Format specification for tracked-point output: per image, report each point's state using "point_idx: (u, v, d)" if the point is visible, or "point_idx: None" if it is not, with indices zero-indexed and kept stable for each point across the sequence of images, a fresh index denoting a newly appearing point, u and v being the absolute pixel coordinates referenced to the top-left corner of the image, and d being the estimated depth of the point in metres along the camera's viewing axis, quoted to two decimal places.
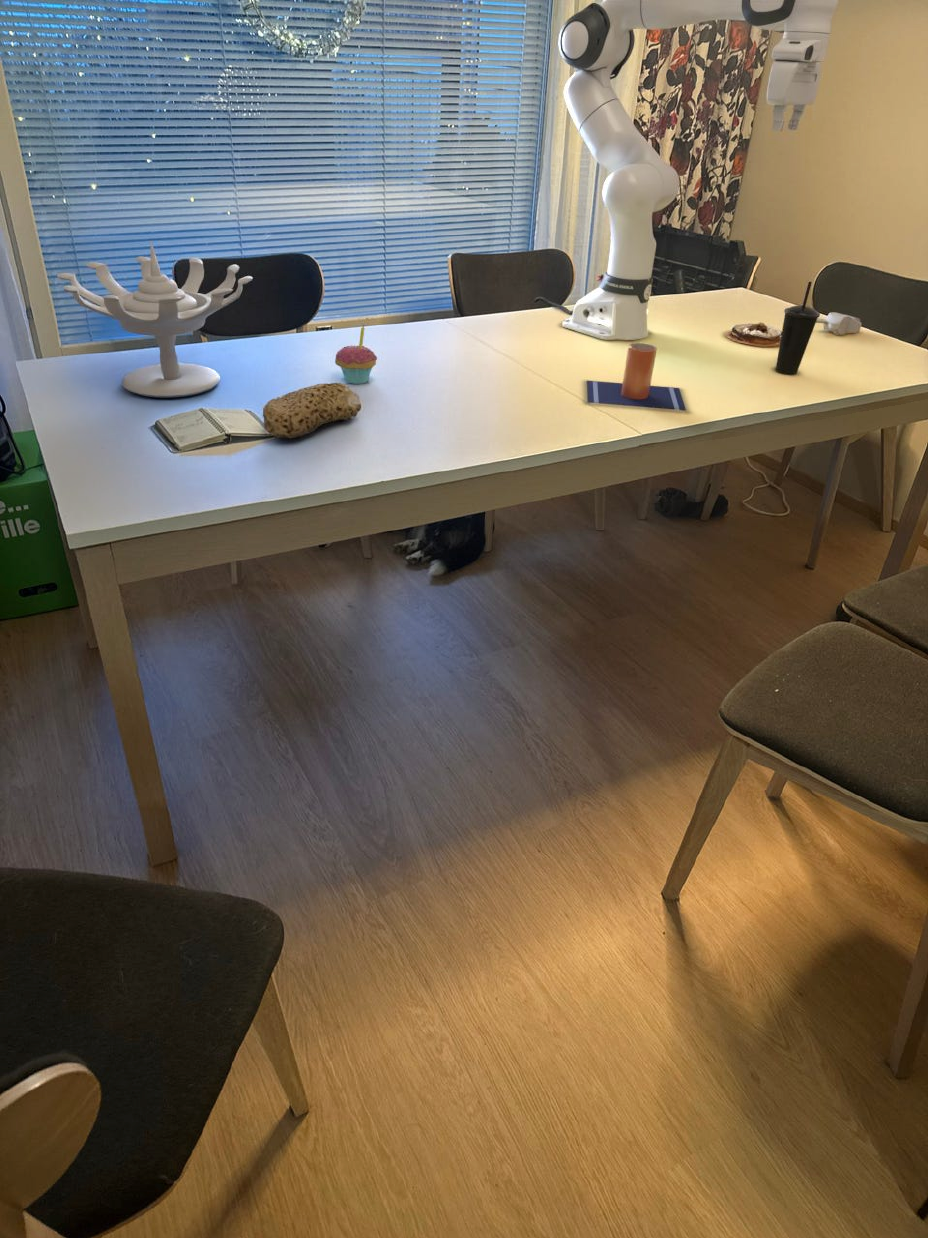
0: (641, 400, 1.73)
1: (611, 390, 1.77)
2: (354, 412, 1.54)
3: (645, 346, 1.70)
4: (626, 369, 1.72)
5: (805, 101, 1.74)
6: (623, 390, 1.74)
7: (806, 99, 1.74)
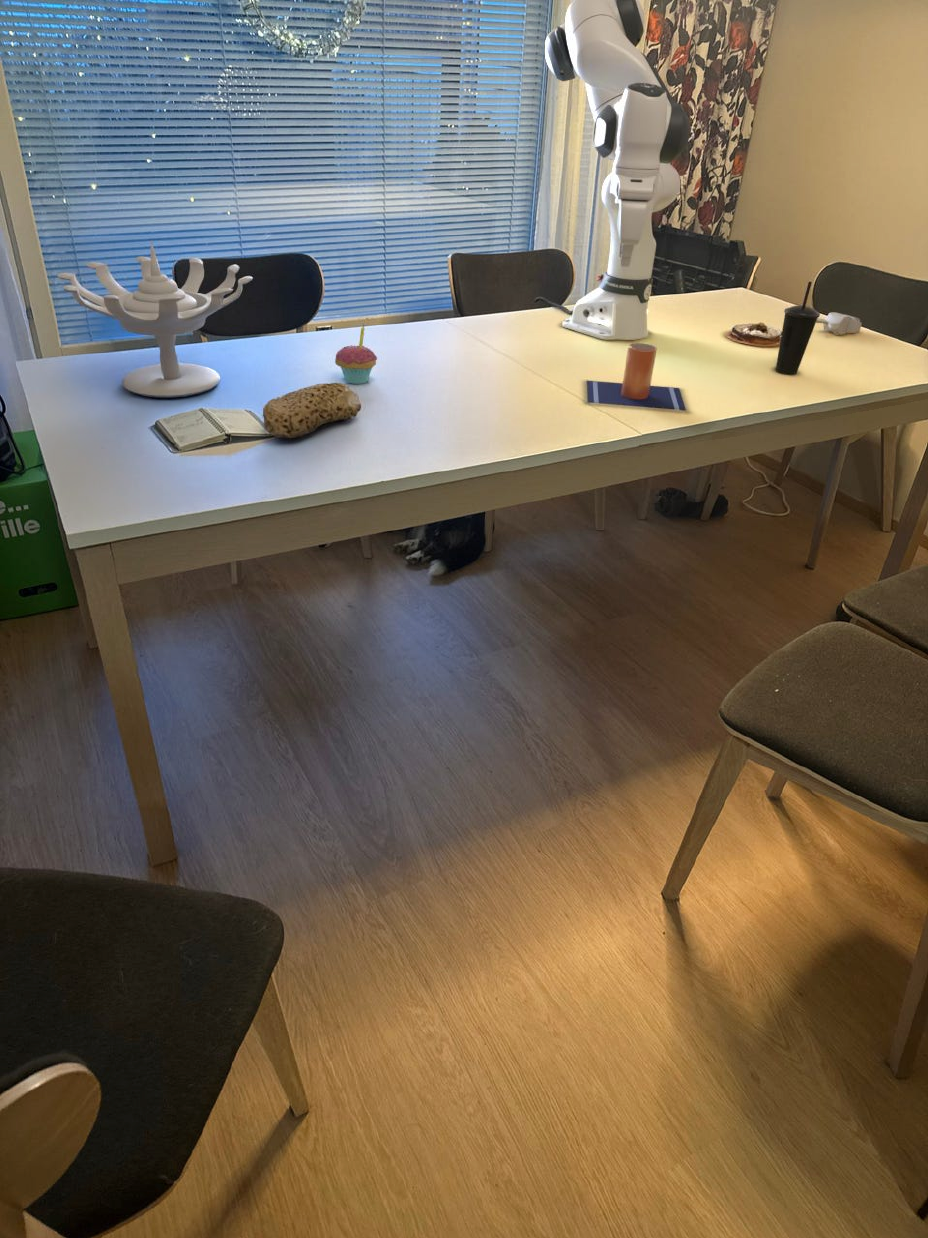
0: (641, 400, 1.73)
1: (611, 390, 1.77)
2: (354, 412, 1.54)
3: (645, 346, 1.70)
4: (626, 369, 1.72)
5: None
6: (623, 390, 1.74)
7: None
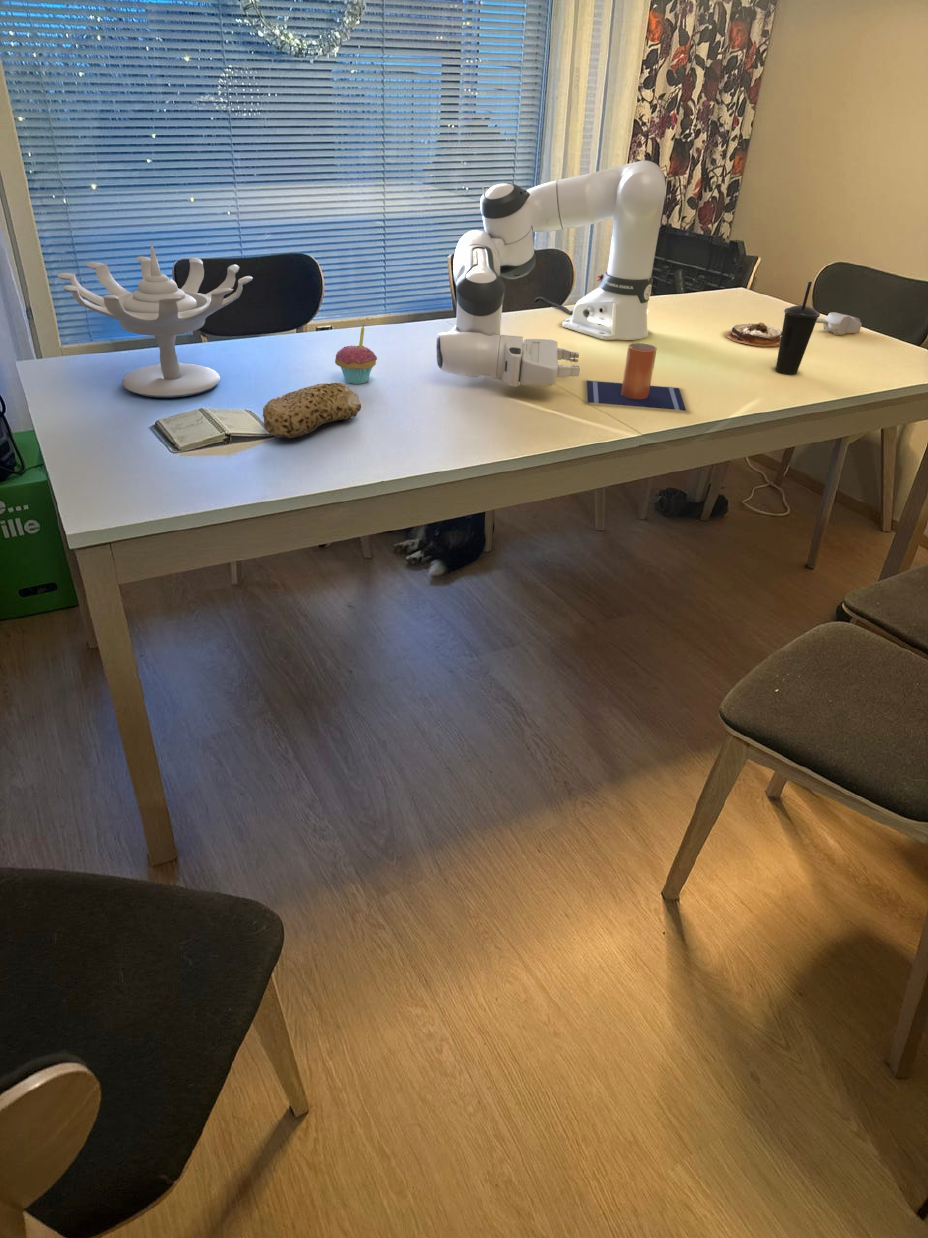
0: (641, 400, 1.73)
1: (611, 390, 1.77)
2: (354, 412, 1.54)
3: (645, 346, 1.70)
4: (626, 369, 1.72)
5: (555, 348, 1.75)
6: (623, 390, 1.74)
7: (553, 347, 1.76)
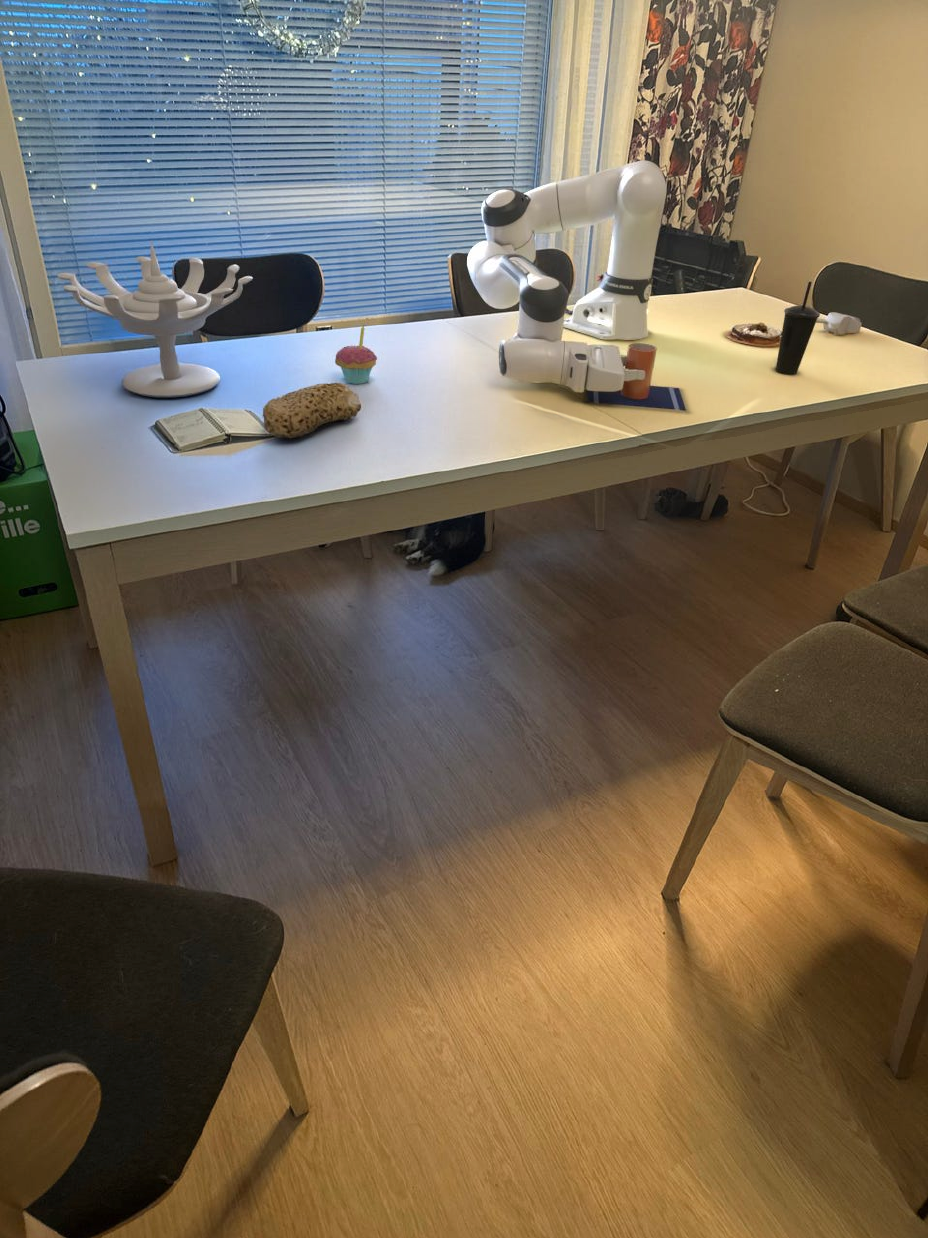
0: (641, 400, 1.73)
1: None
2: (354, 412, 1.54)
3: (645, 346, 1.70)
4: None
5: (618, 353, 1.75)
6: (623, 390, 1.74)
7: (616, 352, 1.75)
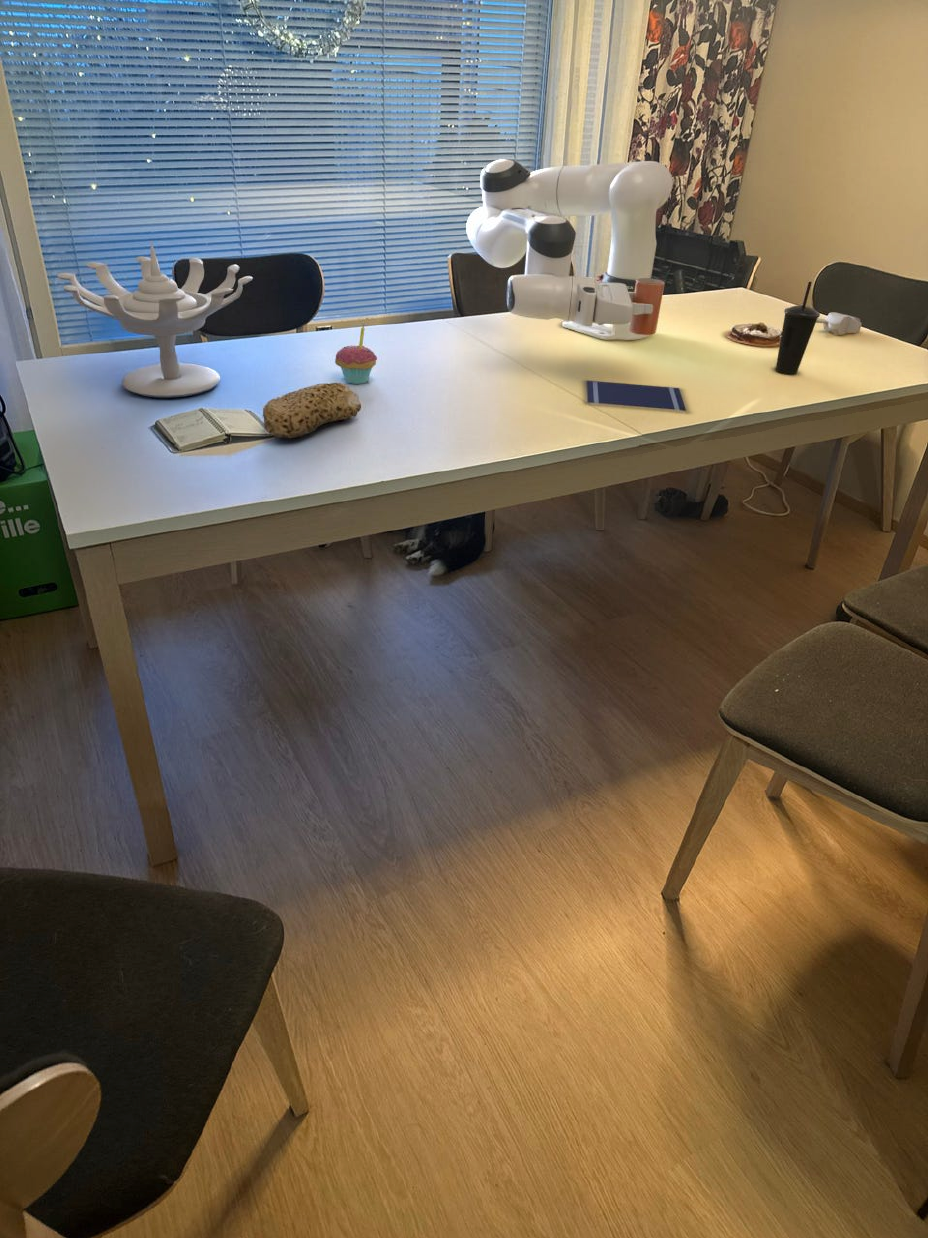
0: (641, 400, 1.73)
1: (611, 390, 1.77)
2: (354, 412, 1.54)
3: (653, 280, 1.71)
4: None
5: (625, 289, 1.75)
6: (631, 326, 1.75)
7: (624, 288, 1.75)
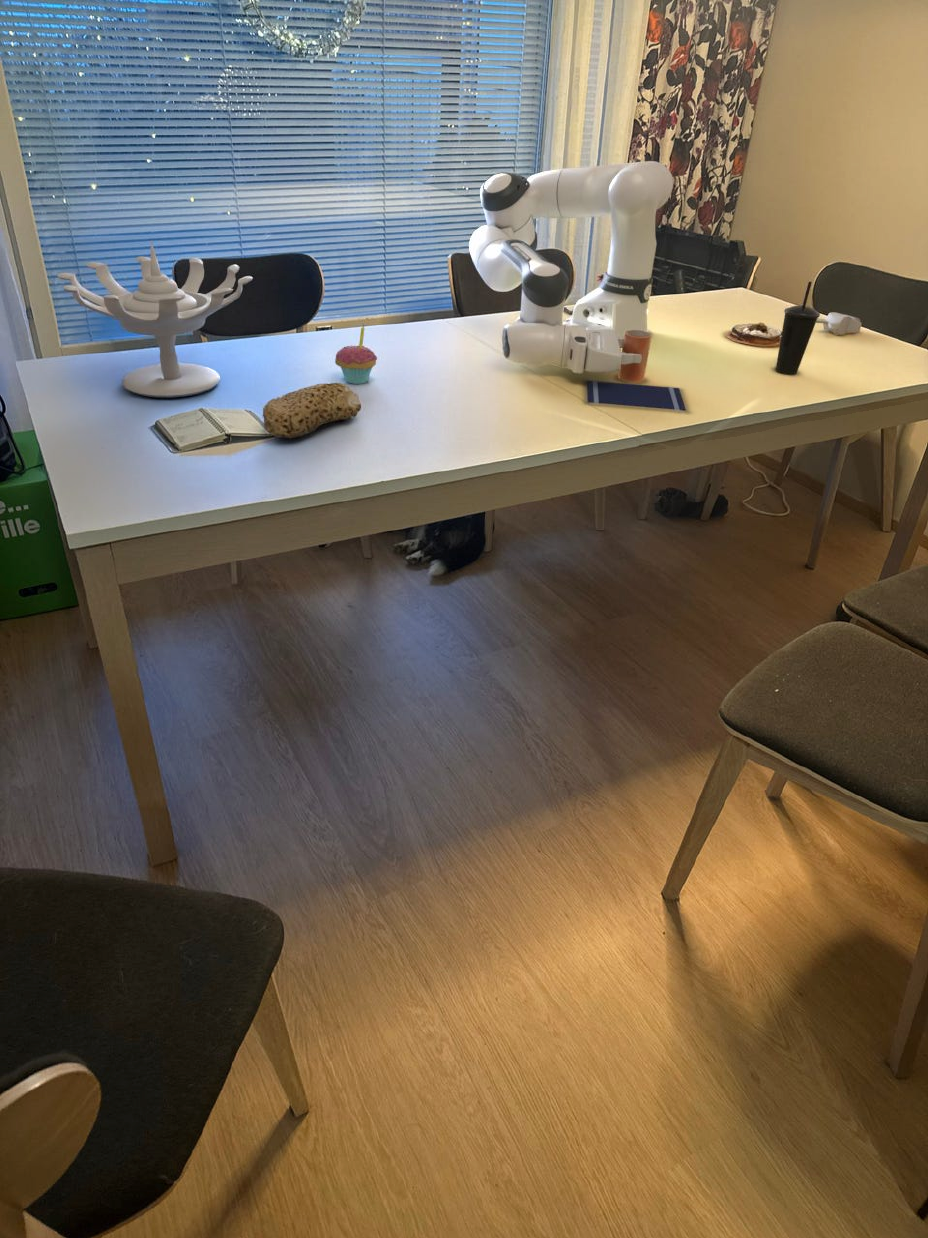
0: (641, 400, 1.73)
1: (611, 390, 1.77)
2: (354, 412, 1.54)
3: (641, 333, 1.80)
4: None
5: (615, 337, 1.84)
6: (620, 375, 1.84)
7: (614, 336, 1.84)
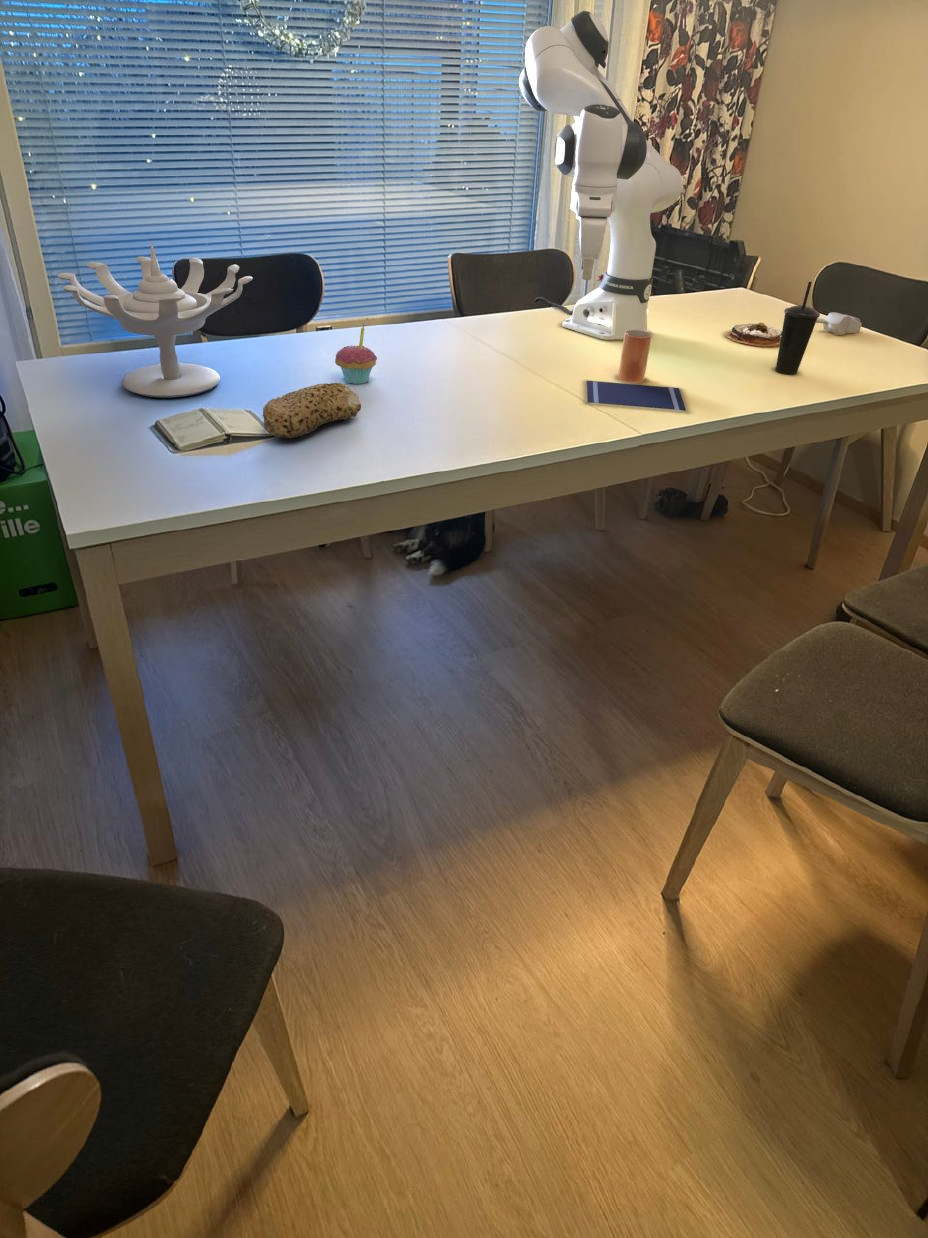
0: (641, 400, 1.73)
1: (611, 390, 1.77)
2: (354, 412, 1.54)
3: (641, 333, 1.80)
4: (623, 355, 1.81)
5: None
6: (620, 375, 1.84)
7: None
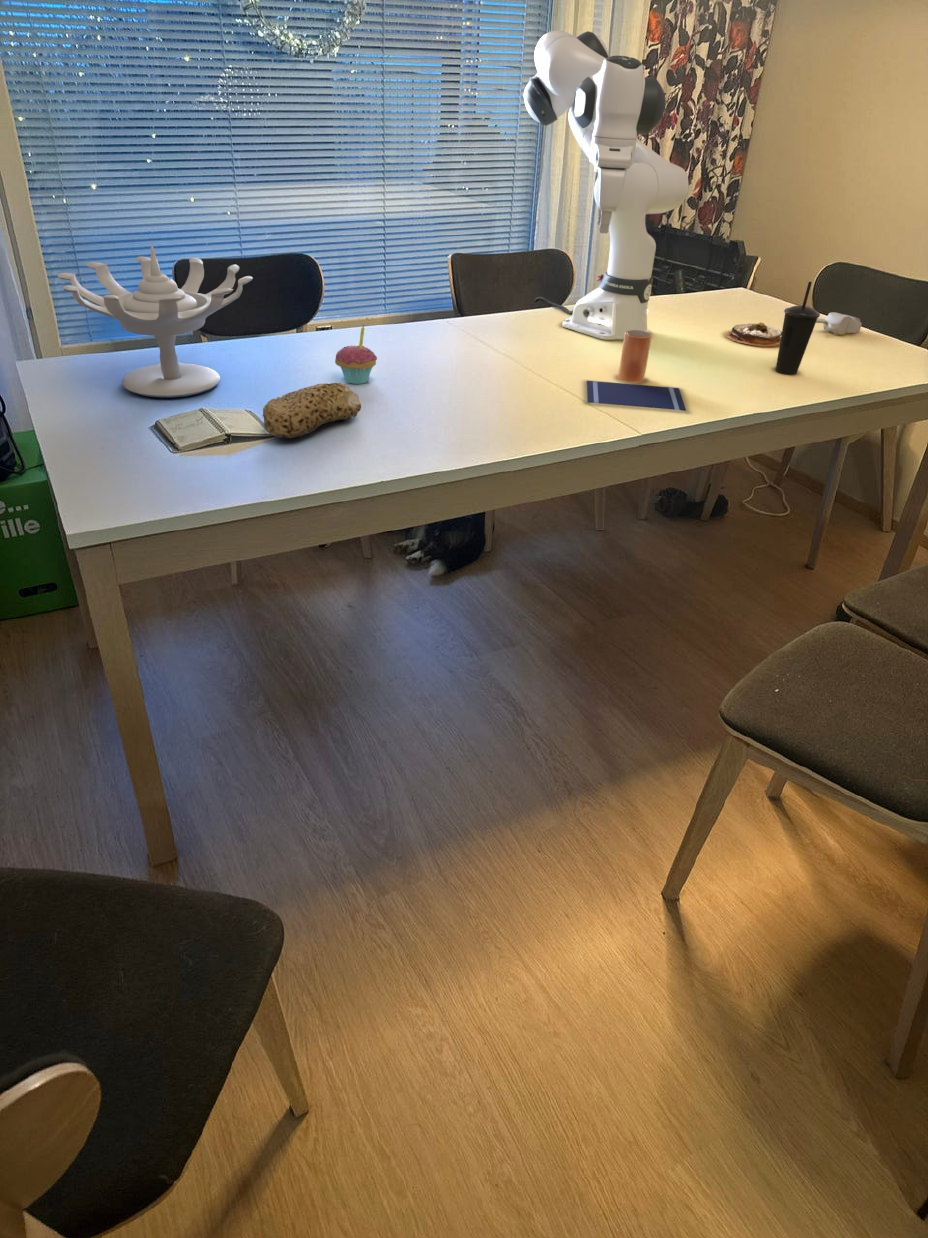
0: (641, 400, 1.73)
1: (611, 390, 1.77)
2: (354, 412, 1.54)
3: (641, 333, 1.80)
4: (623, 355, 1.81)
5: None
6: (620, 375, 1.84)
7: None
